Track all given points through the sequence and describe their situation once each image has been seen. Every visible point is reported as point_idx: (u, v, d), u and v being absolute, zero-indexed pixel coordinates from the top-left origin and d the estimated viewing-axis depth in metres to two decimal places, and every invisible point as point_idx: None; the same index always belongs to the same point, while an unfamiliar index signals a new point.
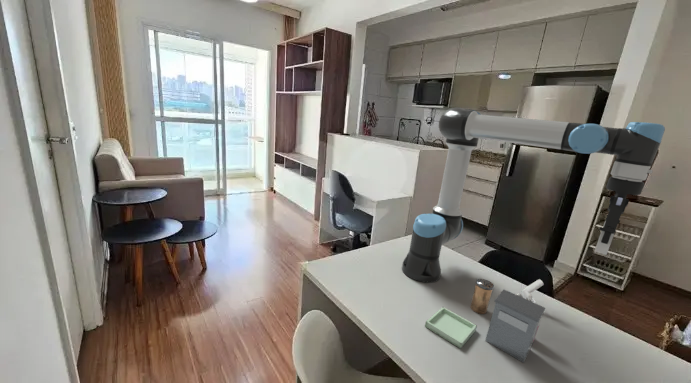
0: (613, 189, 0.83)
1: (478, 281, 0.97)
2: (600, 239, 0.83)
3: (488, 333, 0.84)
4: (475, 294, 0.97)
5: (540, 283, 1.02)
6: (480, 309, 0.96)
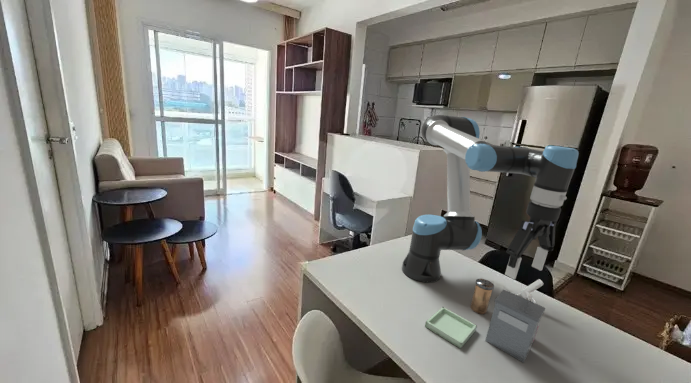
0: (528, 213, 0.81)
1: (478, 281, 0.97)
2: (509, 263, 0.82)
3: (488, 333, 0.84)
4: (475, 294, 0.97)
5: (540, 283, 1.02)
6: (480, 309, 0.96)
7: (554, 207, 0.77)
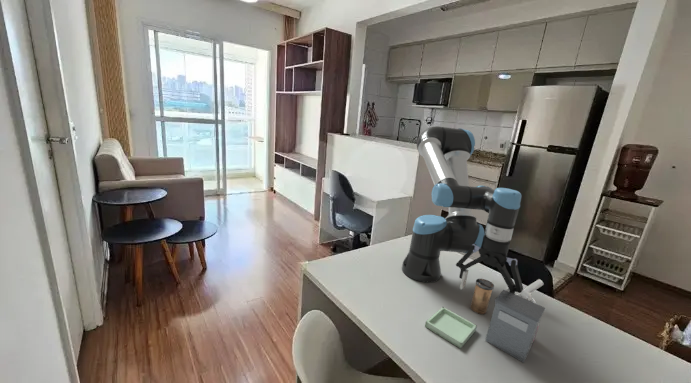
0: None
1: (478, 281, 0.97)
2: None
3: (488, 333, 0.84)
4: (475, 294, 0.97)
5: (540, 283, 1.02)
6: (480, 309, 0.96)
7: (490, 238, 0.91)
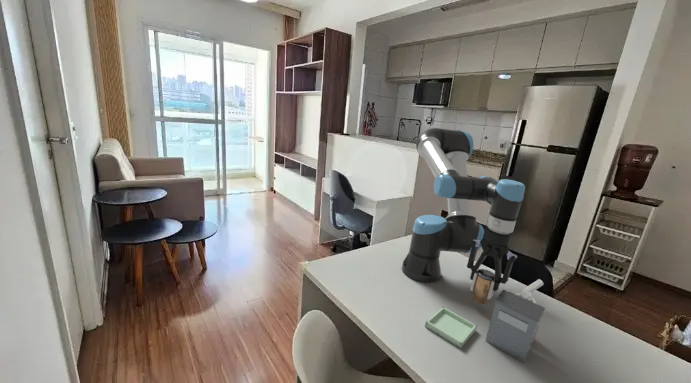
0: None
1: (480, 272, 0.96)
2: None
3: (488, 333, 0.84)
4: (476, 284, 0.97)
5: (540, 283, 1.02)
6: (481, 300, 0.96)
7: (492, 230, 0.90)
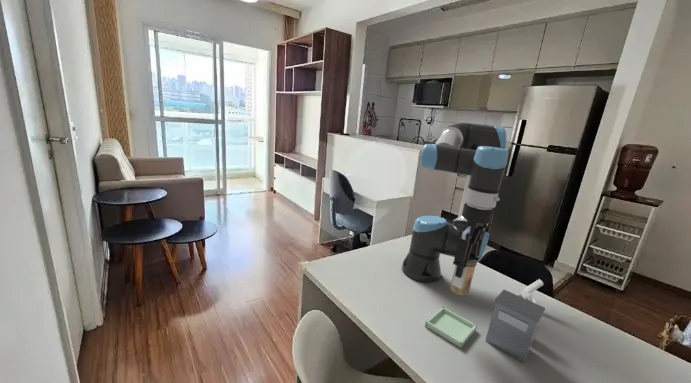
0: (464, 217, 0.78)
1: (467, 262, 0.80)
2: (455, 273, 0.81)
3: (488, 333, 0.84)
4: (468, 277, 0.81)
5: (540, 283, 1.02)
6: None
7: (489, 209, 0.75)
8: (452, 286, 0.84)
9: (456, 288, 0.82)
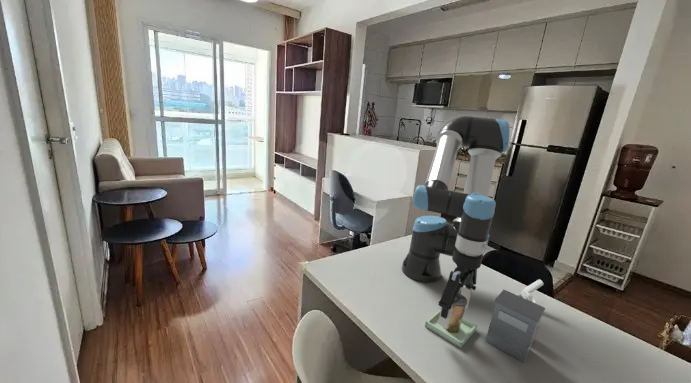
0: (454, 261, 0.81)
1: (457, 302, 0.83)
2: None
3: (488, 333, 0.84)
4: (459, 316, 0.84)
5: (540, 283, 1.02)
6: None
7: (477, 255, 0.79)
8: None
9: None
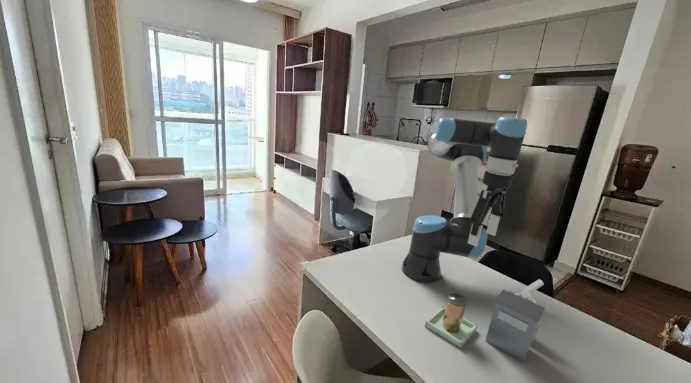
0: (485, 183, 0.85)
1: (457, 302, 0.83)
2: None
3: (488, 333, 0.84)
4: (459, 316, 0.84)
5: (540, 283, 1.02)
6: None
7: (508, 175, 0.82)
8: (444, 323, 0.87)
9: (447, 326, 0.86)
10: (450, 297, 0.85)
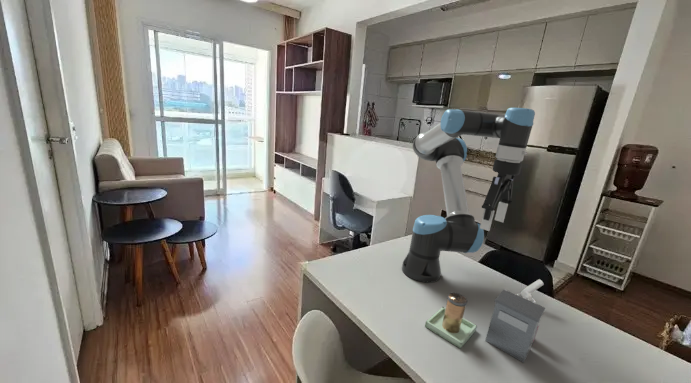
0: (495, 170, 0.90)
1: (457, 302, 0.83)
2: (483, 217, 0.90)
3: (488, 333, 0.84)
4: (459, 316, 0.84)
5: (540, 283, 1.02)
6: None
7: (517, 162, 0.87)
8: (444, 323, 0.87)
9: (447, 326, 0.86)
10: (450, 297, 0.85)
